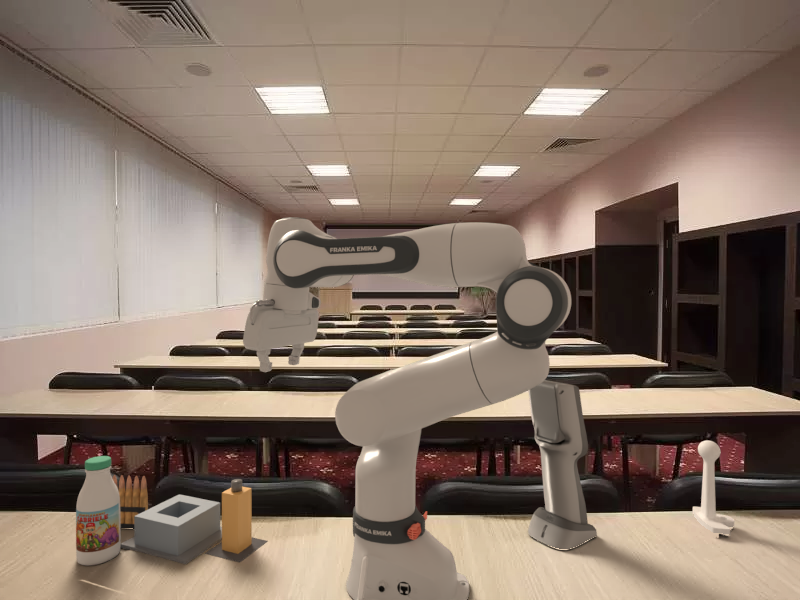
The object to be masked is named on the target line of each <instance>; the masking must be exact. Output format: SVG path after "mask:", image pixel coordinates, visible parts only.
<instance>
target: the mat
mask: <svg viewBox="0 0 800 600" xmlns="http://www.w3.org/2000/svg"><path fill="white" fill-rule="evenodd" d="M268 542H269V541H268V540H265V539H262V538H256V537H254V536H252V544H251V545H250V546H248V547H247V548H246V549H244V550H243V551H242V552H240V553H239V554H237V553H233V552H229V551H225V550H222V541H220V542H218V543H217V544H215V545H214V546H212V547H211V548H209V549H208V550H206V551H205V552H203V553H204V555H208V556H212V557H213V556H214V557H217V558H220V559H225V560H228V561H232V562H237V563H242V562H243V561H244V560H245V559H246V558H248V557H249V556H251V555H252V554H253V553H255V551H257V550H258V549H260V548H261V547H262V546H263V545H265V544H266V543H268Z"/></svg>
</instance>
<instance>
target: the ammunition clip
mask: <svg viewBox="0 0 800 600" xmlns="http://www.w3.org/2000/svg"><path fill="white" fill-rule="evenodd" d="M112 479H113V481H114V483H115V484H116V486H117V488H118V491H119V496H120V525H121V528H133V529H134V516H136V515H138V514H140V513H142V512H144V511H146V510H148V509H150V504H149V502H148V499H149V498H148V497H149V496H148V487H147V485H148V484H147V478H146V476H145V475H143V476H142V478H141V481H140V480H139V479H140V478H139V476H138V475H135V477H134V480H133V481H132V477H131V476H130V474H129V475H128V476H127V479H126V482H125V478H124V475H122V474H121V475H120V477H119V481H118V479H117V476H116V474H113V475H112ZM132 482H133V483H132ZM133 529H132V530H133Z"/></svg>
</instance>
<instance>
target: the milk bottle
mask: <svg viewBox="0 0 800 600" xmlns="http://www.w3.org/2000/svg"><path fill="white" fill-rule="evenodd" d="M111 468H112V457H111V456H108V455H99V456H93V457H90V458H88V459H86V460H85V461H84V472H85V473H86V474H85V475H86V476H85V480H84V482H83V484H82V487H81V489H80V491H79V494H78V496H77V499H76V500H77V501H76V506H75V507H76V508H75V553H76V554H75V555H76V557H75V558H76V561H77V564H79V565H82V566H96V565H100V564H103V563H107V562H109V561H111V560H113V559H114V558H116V557H117V556H118V555H119V553H120V552H121V549H122V548H121V541H122V539H121V537H122V536H121V535H122V534H121V530H122V529H121V525H120V496H119V487H118V485H117V486H116V484H115V483H114V481H113V479H112V478H113V475H112V474H111ZM117 487H118V488H117Z"/></svg>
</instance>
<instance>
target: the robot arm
mask: <svg viewBox="0 0 800 600" xmlns="http://www.w3.org/2000/svg"><path fill="white" fill-rule="evenodd" d="M267 240H268V241H267V248H266V258H265V262H266V268H267V271H266V276H265V279H264V282H263V294H262V295H263V297H262V299H257V300H256V301H255V303H253V305H252V306H251V307H250V308H249V312H248V314H247V317H246V322H245V325H244V332H243V336H242V337H243V338H242V343H243V346H244V348H245V349H246V350H251V351H256V356H257V358H258V361H259V372H263V373H267V372H271V371H272V370H273V362H272V361H270V358H269V355H270V354H271V350H272V349H277V348H283V347H284V348H285V347H288V346H289V347H292V351H291V353H290V355H288V361H287V362H288V365H291V366H296V365H299V364H300V359H301V358H300V357H301V355H302V353H303V351H304V349H305V344H307V343H312V342H314V341H315V339H316V337H317V334H318V328H319V327H318V326H319V311H318V309H320V308H321V304H322V301H321V298H319V297H318V296H316V295H315V294H313V293H312V292H310V288H337V287H342V286H344V285H347V284H348V283H350V281H351V280H352V279H353V277H354V276H383V277H389V278H395V279H400V280H404V281H406V282H407V281H409V282H412V283H417V284H420V285H421V284H422V285H425V286H426V285H427V286H433V287H441V288H467V287H469V288H471V287H480V288H481V287H482V288H487V289H490V290H492V291H494V292H495V293H496V295H495V314H496V315H495V316H496V328H497V331H496V332H494V333H491V334H489V335H488V336H485V337H482V338H479V339H476V340H473V341H471V342H467V343H465V344H461V345H458V346H456V347H453V348H451V349H447V350H445V351H442V352H439V353H436V354H433V355H431V356H428V357H425V358H423V359H420V360H417V361H414V362H412V363H408V364H405V365H403V366H400V367H398V368H394V369H390V370H387V371H385V372H382V373H380V374H379V373H378V374H377V375H373V376H372V377H369V378H366V379H363V380H361V381H359V382H356V383H355V384H353V386H351V387H350V388H349V389H348V390H347V391H346V392H345V393H344V394H343V395H342V396H341V397H340V399H339V400H338V402H337V404H336V408H335V410H334V411H335V412H334V414H335V415H334V416H335V424H336V427H337V429H338V432H339V433H340V435H341V436H342V437H343V438H344V439H345V441H348V443H351V444H353V446H354V445H355V446H358V447H362V448H361V452H360V455H359V457H358V459H357V462H356V465H355V486H354V487H355V494H354V495H355V498H354V499H355V504H354V505H355V506H354V507H353V509H352V514H353V515H352V534H353V538H354V539H353V551H352V558H351V565H350V569H349V573H348V577H347V580H346V583H345V584H346V585H345V586H346V591H347V593H348V595H349V597H351V598H352V600H467V599H468V600H469V598H468V597H470V584H469V580H468V578H467V576H466V575H465V574H462V573H459V572H457V566H456V565H457V564H456V562H455V557H454V555H453V552H452V551H451V550H450V549H449V548H448V547H447V546H445V544H443V543H442V542H440V540H438V538H436V537H435V536H434V535H433V534H432V533H431V532H430V531H428V530H427V528H426V521H427V519H428V511H425V512H424V514H422V513H421V512H420V511H419V510H418V507H417V506H416V470H417V468H416V466H417V460H418V459H417V458H418V453H419V446H420V441H421V435H422V429H424V428H427V427H429V426H431V425H434V424H436V423H438V422H439V423H440V422H441V421H444V420H447V419H450V418H453V417H455V416H458V415H461V414H465V413H468V412H471V411H475V410H478V409H482V408H486V407H487V406H491V405H492V406H493V405H495V404H498V403H502V402H504V401H506V400H510V399H512V398H515V397H517V396H519V395H522V394H524V393H526V392H528V390H530V389H532V388H534V387H535V386H537V385H539V384H541V383H542V382H543V381H544V380H546V379H547V377H548V375H549V373H550V357H549V352H548V349H547V348H546V341H547V340H548V339H549V338H550V337H551V336H552V334H554V333H555V331H556V330H557V329H559V328H560V327H561V326H562V325H563V324H564V323H565V321H566V320H567V318H568V316H569V314H570V311H571V307H572V294H571V291H570V288H569V286H568V284H567V283H566V281H565V279H563V277H562V276H560V274H558V273H556V272H555V271H554V270H550V269H549V268H544V267H541V266H539V265H537V264H535V263H533V262H530V261H529V260H528V258H527V249H526V244H525V240H524V238H523V236H522V234H521V233H520V232H519V230H518V229H517V228H516V227H515V226H512V225H509V224H503V223H495V222H480V221H479V222H475V221H474V222H470V221H469V222H455V223H454V222H453V223H445V224H444V223H443V224H439V225H433V226H428V227H423V228H419V229H418V228H417V229H414V230H407V231H403V232H398V233H393V234H388V235H381V236H370V237H367V236H366V237H347V238H346V237H345V238H336V237H334V236H333V235H330V234H328V233H326V232H324V231H323V230H321V229H319V228H318V227H317V226H316V225H315V224H314V223H313V222H312V221H311V220H310V219H307V218H305V217H283V218H281V219H278V220H275V221H274V222H273V224H272V226H271V228H270V231H269V235H268V239H267Z"/></svg>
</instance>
